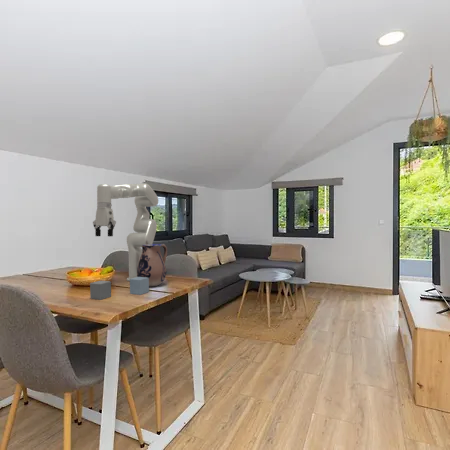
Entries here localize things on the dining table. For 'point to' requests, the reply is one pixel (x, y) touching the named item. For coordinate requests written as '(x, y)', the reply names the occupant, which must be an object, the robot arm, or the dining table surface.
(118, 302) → the dining table surface
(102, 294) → the dark grey block
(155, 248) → the ceramic pitcher
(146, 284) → the blue-gray block
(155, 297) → the dining table surface
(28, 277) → the dining table surface
